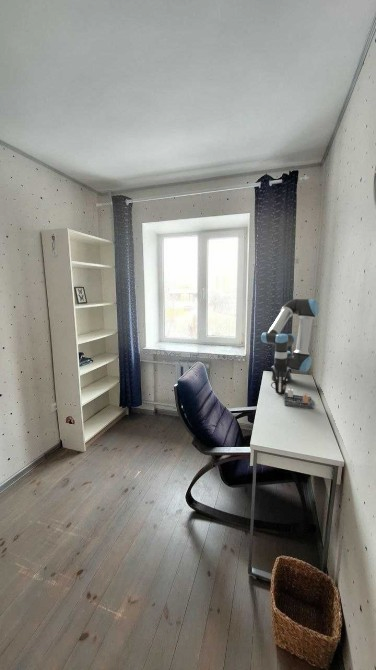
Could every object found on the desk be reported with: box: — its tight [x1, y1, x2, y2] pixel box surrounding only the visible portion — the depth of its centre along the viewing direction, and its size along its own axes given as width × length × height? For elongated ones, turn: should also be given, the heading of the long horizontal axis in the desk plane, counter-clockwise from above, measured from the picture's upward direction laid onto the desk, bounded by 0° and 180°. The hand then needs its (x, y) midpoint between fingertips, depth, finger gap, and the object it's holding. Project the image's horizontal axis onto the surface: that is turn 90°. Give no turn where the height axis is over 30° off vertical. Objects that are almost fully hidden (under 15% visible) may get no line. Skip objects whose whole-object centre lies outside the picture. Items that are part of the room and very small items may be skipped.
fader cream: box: [287, 388, 294, 397], centre depth 180 cm, size 3×3×5 cm
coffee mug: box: [270, 377, 288, 395], centre depth 191 cm, size 12×9×10 cm
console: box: [284, 393, 313, 410], centre depth 176 cm, size 14×16×3 cm
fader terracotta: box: [302, 393, 309, 403], centre depth 170 cm, size 3×3×5 cm
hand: (279, 391), depth 182 cm, fingers closed
